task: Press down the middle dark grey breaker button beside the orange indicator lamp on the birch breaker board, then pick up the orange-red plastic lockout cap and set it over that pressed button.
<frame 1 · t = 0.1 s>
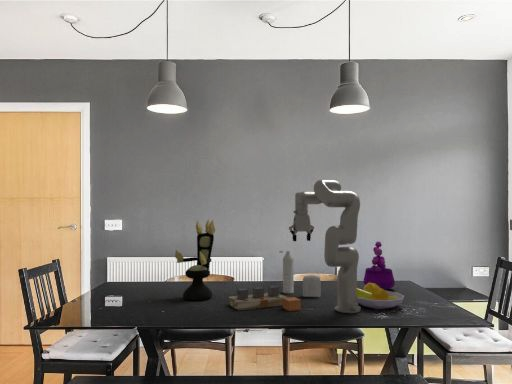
hand: (301, 240, 244), 31 cm above the table, fingers open, 9 cm apart
fruit bowl: (375, 306, 211), on the table
water bottle: (286, 292, 244), on the table
breaker 2: (258, 293, 214), point 6 cm above the table, slide at 0.0 cm
breaker 3: (242, 294, 210), point 6 cm above the table, slide at 0.0 cm
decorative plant: (379, 289, 252), on the table
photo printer: (311, 296, 232), on the table
breaker 1: (273, 291, 217), point 6 cm above the table, slide at 0.0 cm
lockout cap: (291, 308, 204), on the table
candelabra: (199, 297, 231), on the table
breaker board: (258, 304, 213), on the table
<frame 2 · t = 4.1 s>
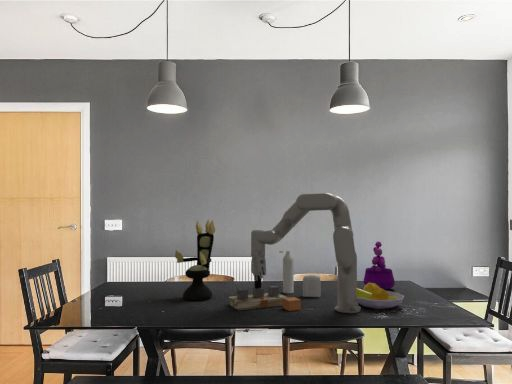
hand: (257, 287, 214), 9 cm above the table, fingers closed
breaker 2: (258, 293, 214), point 6 cm above the table, slide at 0.0 cm, touching gripper
everything else where it was.
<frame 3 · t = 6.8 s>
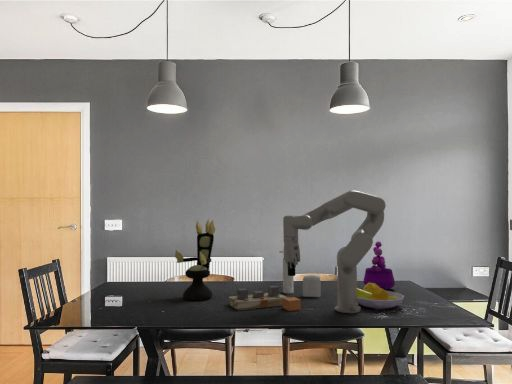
hand: (291, 275, 205), 17 cm above the table, fingers closed
breaker 2: (258, 297, 214), point 4 cm above the table, slide at 2.0 cm
everything else where it was.
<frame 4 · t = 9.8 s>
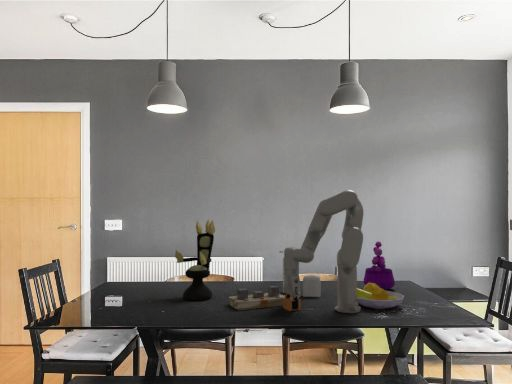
hand: (291, 307, 204), 1 cm above the table, fingers closed on lockout cap, 6 cm apart
lockout cap: (291, 308, 204), on the table, touching gripper
everything else where it was.
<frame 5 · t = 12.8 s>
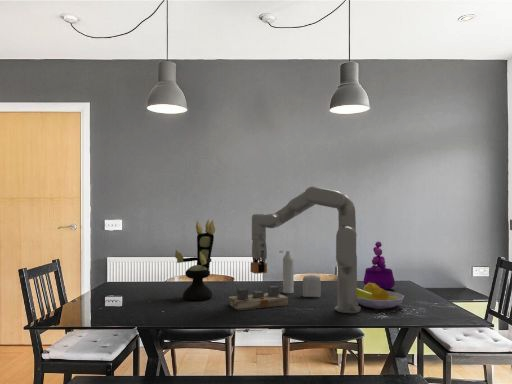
hand: (258, 270, 214), 18 cm above the table, fingers closed on lockout cap, 6 cm apart
lockout cap: (258, 272, 214), point 17 cm above the table, touching gripper
everything else where it was.
when the fingers open (6 cm above the table, at t = 16.1 s): lockout cap drops 1 cm, resting on breaker board.
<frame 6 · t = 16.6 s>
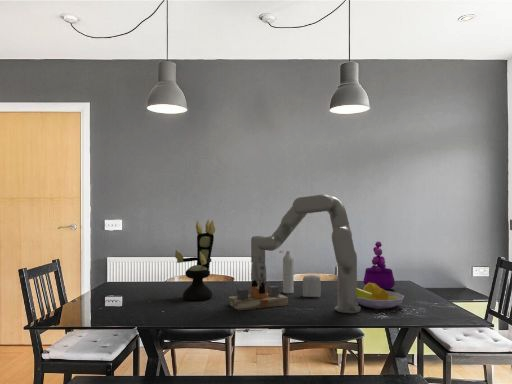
hand: (258, 291, 214), 7 cm above the table, fingers open, 9 cm apart
lockout cap: (258, 297, 213), point 4 cm above the table, touching breaker board
everything else where it was.
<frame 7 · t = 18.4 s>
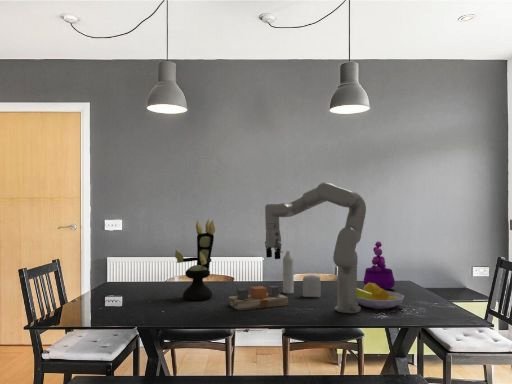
hand: (273, 258, 219), 24 cm above the table, fingers open, 9 cm apart
nothing on the table moved.
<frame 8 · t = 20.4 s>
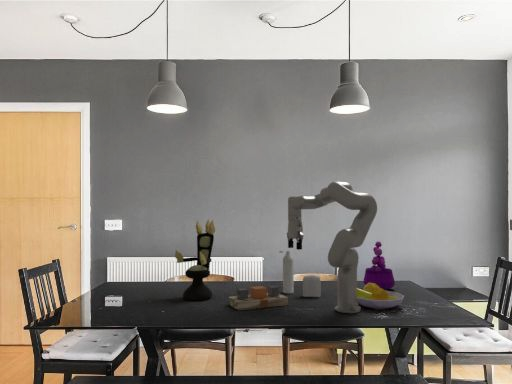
hand: (294, 248, 227), 28 cm above the table, fingers open, 9 cm apart
nothing on the table moved.
at the end: breaker 2 slide at 2.0 cm; lockout cap 0.1 cm from the target spot, point 4.0 cm above the table; the gripper is holding nothing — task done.
